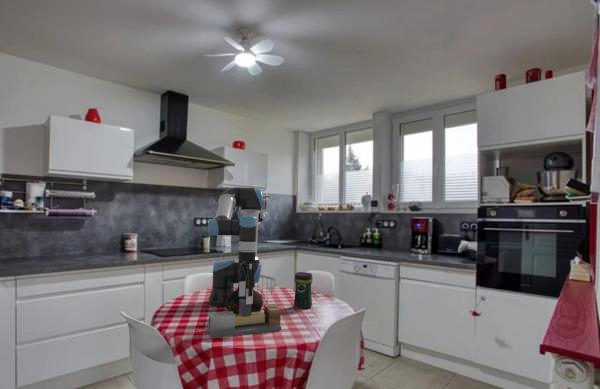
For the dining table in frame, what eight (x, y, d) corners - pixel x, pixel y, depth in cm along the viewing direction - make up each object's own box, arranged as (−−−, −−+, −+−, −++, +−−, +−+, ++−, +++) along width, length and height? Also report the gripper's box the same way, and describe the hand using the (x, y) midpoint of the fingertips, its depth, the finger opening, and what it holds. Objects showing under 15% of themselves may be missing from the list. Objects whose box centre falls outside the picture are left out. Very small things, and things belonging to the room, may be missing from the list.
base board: (207, 328, 148) (207, 324, 148) (272, 321, 160) (273, 318, 160) (211, 338, 137) (211, 334, 137) (281, 330, 148) (281, 326, 149)
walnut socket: (263, 320, 156) (264, 304, 157) (274, 319, 158) (274, 303, 159) (269, 326, 148) (270, 310, 148) (280, 325, 150) (280, 309, 150)
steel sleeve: (208, 327, 145) (209, 312, 146) (231, 324, 149) (232, 310, 149) (210, 332, 140) (210, 317, 140) (234, 329, 144) (235, 315, 144)
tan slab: (214, 323, 146) (215, 300, 147) (261, 319, 154) (262, 297, 155) (216, 328, 141) (217, 304, 141) (265, 323, 149) (266, 300, 149)
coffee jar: (313, 305, 187) (314, 272, 188) (308, 309, 180) (309, 274, 180) (297, 303, 190) (298, 270, 191) (291, 307, 183) (292, 272, 184)
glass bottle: (268, 313, 172) (270, 257, 173) (251, 324, 155) (253, 262, 156) (237, 308, 178) (239, 255, 179) (218, 318, 161) (220, 259, 162)
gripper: (233, 248, 160) (231, 293, 159) (245, 254, 137) (243, 308, 136) (248, 247, 163) (247, 292, 161) (263, 254, 140) (261, 306, 138)
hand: (245, 299), depth 148 cm, fingers open, 13 cm apart
